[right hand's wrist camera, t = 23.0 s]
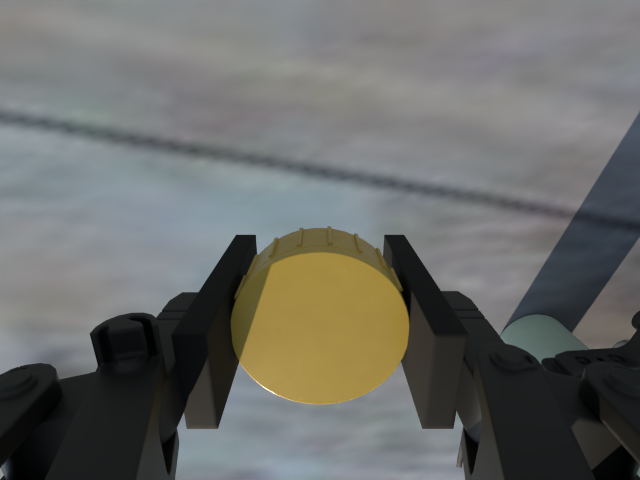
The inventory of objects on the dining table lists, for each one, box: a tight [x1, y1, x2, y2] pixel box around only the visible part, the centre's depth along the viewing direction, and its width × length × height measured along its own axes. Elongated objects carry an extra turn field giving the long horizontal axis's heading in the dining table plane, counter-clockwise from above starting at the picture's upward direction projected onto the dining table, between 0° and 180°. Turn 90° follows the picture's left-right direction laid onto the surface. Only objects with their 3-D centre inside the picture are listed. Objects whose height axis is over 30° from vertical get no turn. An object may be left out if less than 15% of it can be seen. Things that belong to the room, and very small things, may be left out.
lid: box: [230, 226, 410, 404], centre depth 11 cm, size 5×5×2 cm
